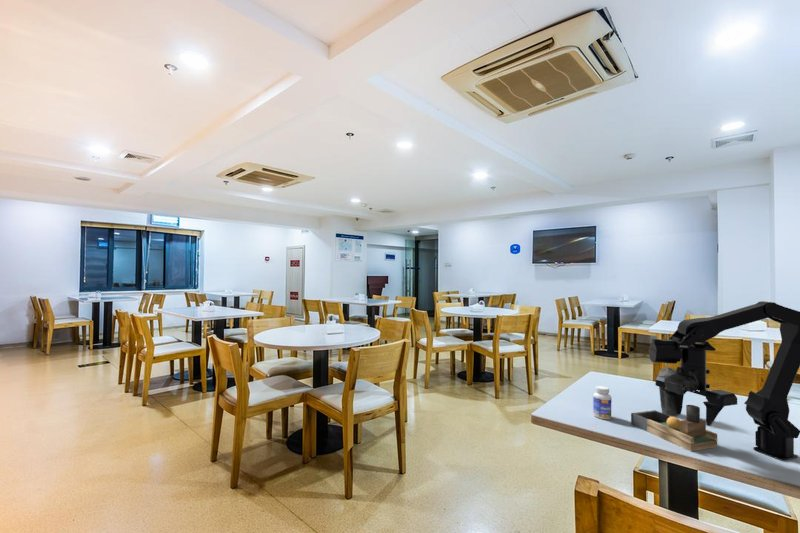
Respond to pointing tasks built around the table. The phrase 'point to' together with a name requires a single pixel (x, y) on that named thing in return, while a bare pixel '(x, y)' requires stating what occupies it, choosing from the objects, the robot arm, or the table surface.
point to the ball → (673, 423)
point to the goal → (641, 418)
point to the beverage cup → (664, 397)
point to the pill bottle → (602, 403)
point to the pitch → (682, 436)
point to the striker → (693, 422)
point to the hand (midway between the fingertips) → (693, 419)
